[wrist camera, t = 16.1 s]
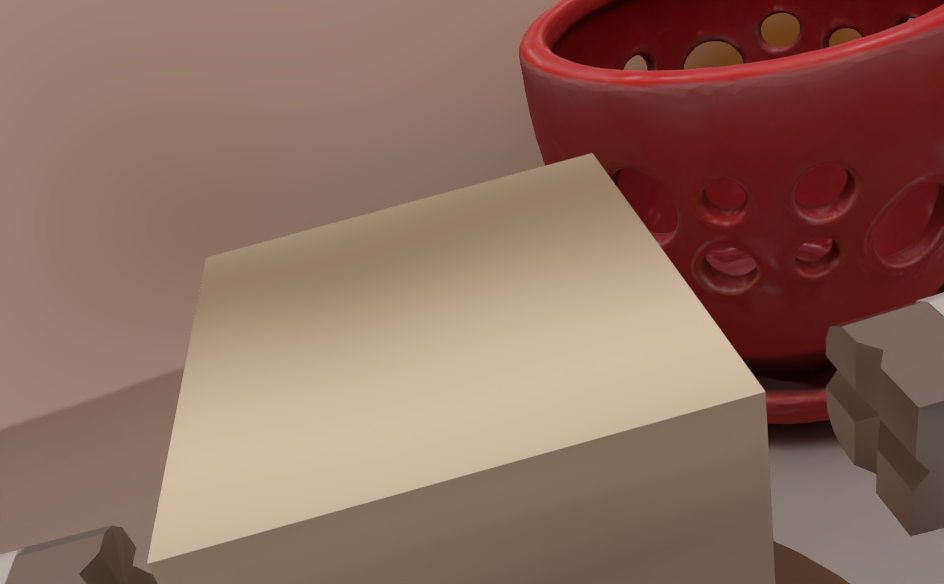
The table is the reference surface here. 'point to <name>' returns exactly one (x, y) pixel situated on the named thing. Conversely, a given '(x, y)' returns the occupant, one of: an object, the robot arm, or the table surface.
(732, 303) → the plant pot
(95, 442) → the table surface
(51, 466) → the table surface
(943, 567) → the table surface
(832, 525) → the table surface
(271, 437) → the ash block
